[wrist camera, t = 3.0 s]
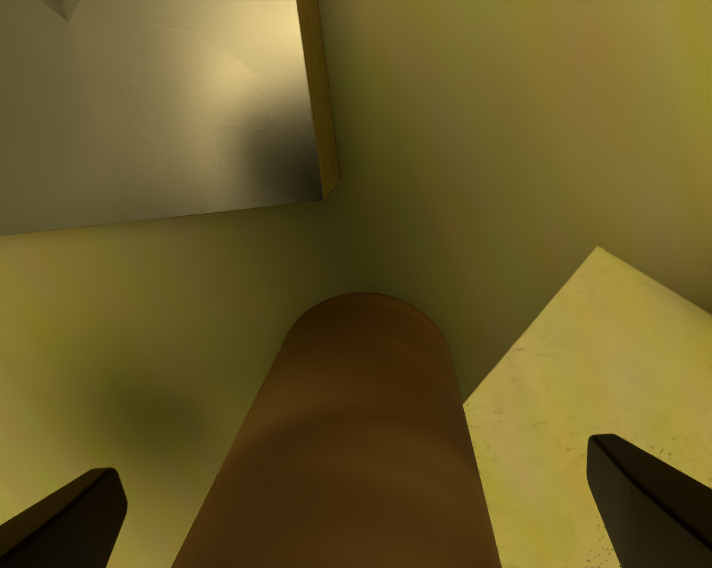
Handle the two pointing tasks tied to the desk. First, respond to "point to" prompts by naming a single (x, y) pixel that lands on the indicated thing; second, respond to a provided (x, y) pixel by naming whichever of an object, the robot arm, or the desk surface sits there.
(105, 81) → the keyhole plate
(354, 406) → the walnut peg
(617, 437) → the robot arm
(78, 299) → the desk surface
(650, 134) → the desk surface
